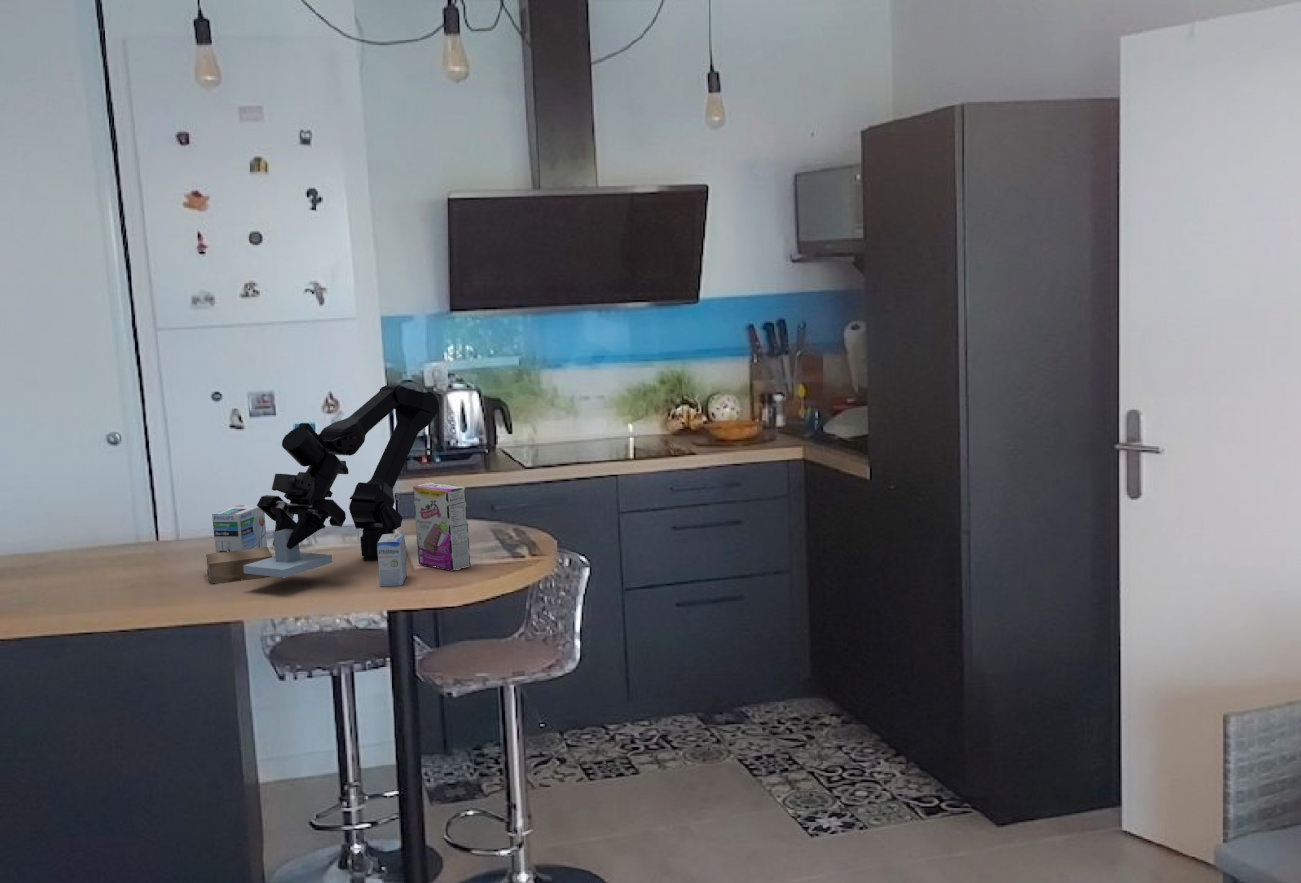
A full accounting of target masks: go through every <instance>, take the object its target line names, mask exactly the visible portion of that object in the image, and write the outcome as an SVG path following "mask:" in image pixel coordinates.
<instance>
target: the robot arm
mask: <svg viewBox="0 0 1301 883" xmlns="http://www.w3.org/2000/svg"><path fill="white" fill-rule="evenodd" d="M439 403H440V402H439V400H438V398H437V396H436V394H435V393H434V392H431V391H419V390H415V389H410V388H408V387H405V386H403V385H400V384H397V385H396V384H395V385H394V384H393V385H391V384H388V385H383V386H382V387H380V388H379V391H378V392H377V393H376V394H374V395H373V396H372V397H371V398H370V399H368V400H367V401H366V402H365V403H364V404H363V405H361V406H360V407H359V408H358V409H357V410H355V411H354V412H353V413H352V414H351V415H350V416H348V417H347V418H344V419H341V420H338V421H335V422H333V423H331V424H329V425H327V426H325V427H324V428H323V429H322V430H321V431H320V433H317V432H316V430H315V429H314V428H313V427H312V426H311V424H310V423H309V422H300V423H299V425H298V427H295V428H293V429H292V430H290V431H289V432H288V433H287V434H285V435H284V437H283V439H282V441H281V447H282V448H283V449H284V451H286V453H288V454H289V455H290V456H291V457H292V458H293V459H294V460H295V461H296V463H298V464H299V465H300V466H301V467H305V468H306V467H307V469H306V471H304V472H303V471H298V472H297V474H288V473H275V474H274V477H273V482H272V485H271V486H272V487H271V491H278V492H280V493H283V494H284V495H283V497H284V498H285V499H286V500H287V501H289V503H288V502H287V501H285V500H284V499H282V498H281V497H280V496H279V495H268V494H266V495H262V496H261V497H260V498H259V500H258V502H257V504H256V505H257V506H258V507H259V508H260V509H261V510H262V511H263V512H264V514H266V516H267V517H269V518H270V519H271V521H274V522H275V526H274V528H275V529H274V532H276V531H280V530H284V529H292V530H293V532H292V534H291V536H290V538H289V540H288V543H287V548H288V549H292V548H293V547H295V546H296V545H298V544H299V545H300V543H302V542H303V541H304V540H306V539H307V538H309V537H311V536H312V535H314V534H315V533H317V532H318V531H320V530H322V529H323V530H324V529H325V528H326V525H325V522H326V520H327V519H329V520H328V522H329V524H330V526H331V527H340V528H342V527H343V525H344V523H345V521H346V519H347V518H346V517H347V516H346V514H347V513H346V511H345V510H343V508H342V507H340V505H339V504H338V503H337V502H336V501H335V500H333V499H329V498H332V496H333V494H334V493H333V492H332V491H331V488H332V486H333V484H334V483H335V481H336V479H337V476H338V475H349V472H350V471H349V469H348V467H347V461H346V460H341V459H339V457H338V456H353V455H355V454H356V453H358V451H359V450H360V448H361V447H362V446H363V445H364V443H365V440H366V435H367V434H368V433H369V432H370V431H371V430H372V429H374V427H375V426H377V425H378V424H379V423H380V422H382V420H383V419H385V418H386V417H387V416H388V415H390V413H391V412H393V411H394V410H395V411H394V412H395V419H396V425H395V427H394V429H393V431H392V434H391V435H390V438H389V440H388V442H387V444H386V447H385V449H384V451H383V453H382V455H381V458H380V459H379V461H378V464H377V465H376V468H375V470H374V473H373V474H372V476H371V479H370V480H368V481H367V482H358V483H357V484H356V485H355V488H354V491H353V493H352V495H351V496H350V497H349V500H350V502H349V505H348V506H349V507H348V509H349V513H350V516H351V519H352V522H353V523H354V526H355V529H356V530H357V529H362V534H361V536H360V538H359V540H360V550H361V557H363V561H373V560H375V561H376V560H377V561H378V551H377V543H378V541H379V540H380V538H381V536H382V535H383V534H396V532H395V531H396V530H397V529H398V528H401V527H402V523H403V522H402V521H403V516H402V514H400V513H399V512H398V511H397V510H396V509H395V508H394V506H395V503H396V500H395V493H394V488H395V485H396V483H397V480H398V478H399V476H400V474H401V471H402V470H403V469H404V468H403V467H404V465H405V464H406V461H407V458H408V457H409V454H410V452H411V450H412V448H413V445H415V444H414V443H415V441H416V439H417V437H418V435H419V433H420V432H421V431H423V430H424V429H425V428H426V427H427V426H429V425H431V423H432V422H433V420H434V418H435V417H436V416H437V413H438V412H439V407H440V406H439ZM295 515H297V521H295V520H294V518H295V517H294V516H295ZM272 546H273V547H274V539H273V540H272Z"/></svg>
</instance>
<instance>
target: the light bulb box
mask: <svg viewBox="0 0 1301 883" xmlns="http://www.w3.org/2000/svg"><path fill="white" fill-rule="evenodd" d="M211 517H212V519H211V520H212V528H213V538H214V539H213V540H214V549H215V553H221V552H229V551H238V550H246V549H254V548H263V547H268V540H267V539H268V538H267V529H266V528H267V527H266V518H265V517H266V516H265V513H264V512H263V511H262V510H261V509H260V508H259V507H258V506H257V504H250V505H249V504H246V505H245V504H237V505H233V506H231V507H229V508H225V509H223V510H220V511H217V512H214V513H212V514H211Z"/></svg>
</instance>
